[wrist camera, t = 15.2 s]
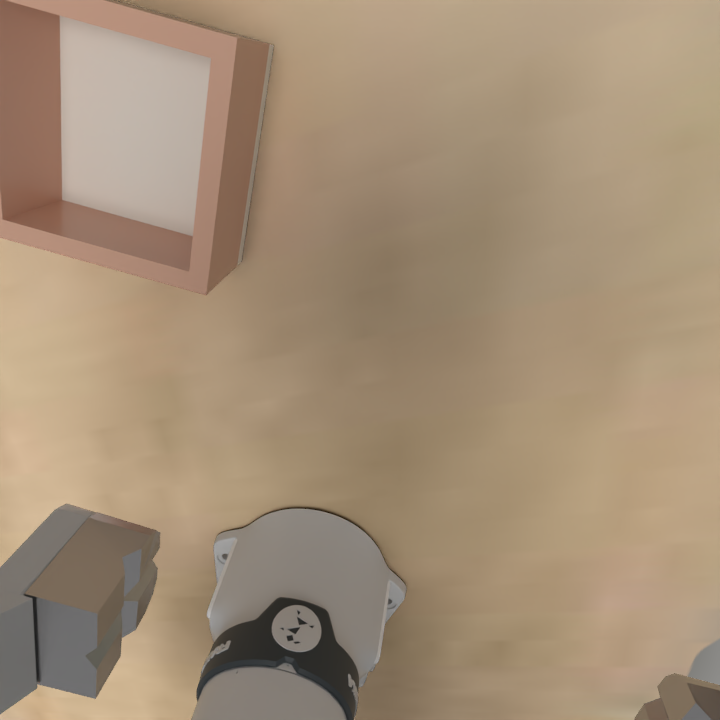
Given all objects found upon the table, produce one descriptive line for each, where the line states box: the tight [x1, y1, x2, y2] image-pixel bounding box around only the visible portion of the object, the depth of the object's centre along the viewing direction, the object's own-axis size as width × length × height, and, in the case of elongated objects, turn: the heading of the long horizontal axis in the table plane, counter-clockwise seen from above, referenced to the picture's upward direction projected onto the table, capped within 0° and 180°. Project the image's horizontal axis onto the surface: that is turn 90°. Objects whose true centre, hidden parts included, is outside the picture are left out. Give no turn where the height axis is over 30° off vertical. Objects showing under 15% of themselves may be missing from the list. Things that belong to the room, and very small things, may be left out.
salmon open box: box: [0, 0, 274, 295], centre depth 34 cm, size 14×14×7 cm
